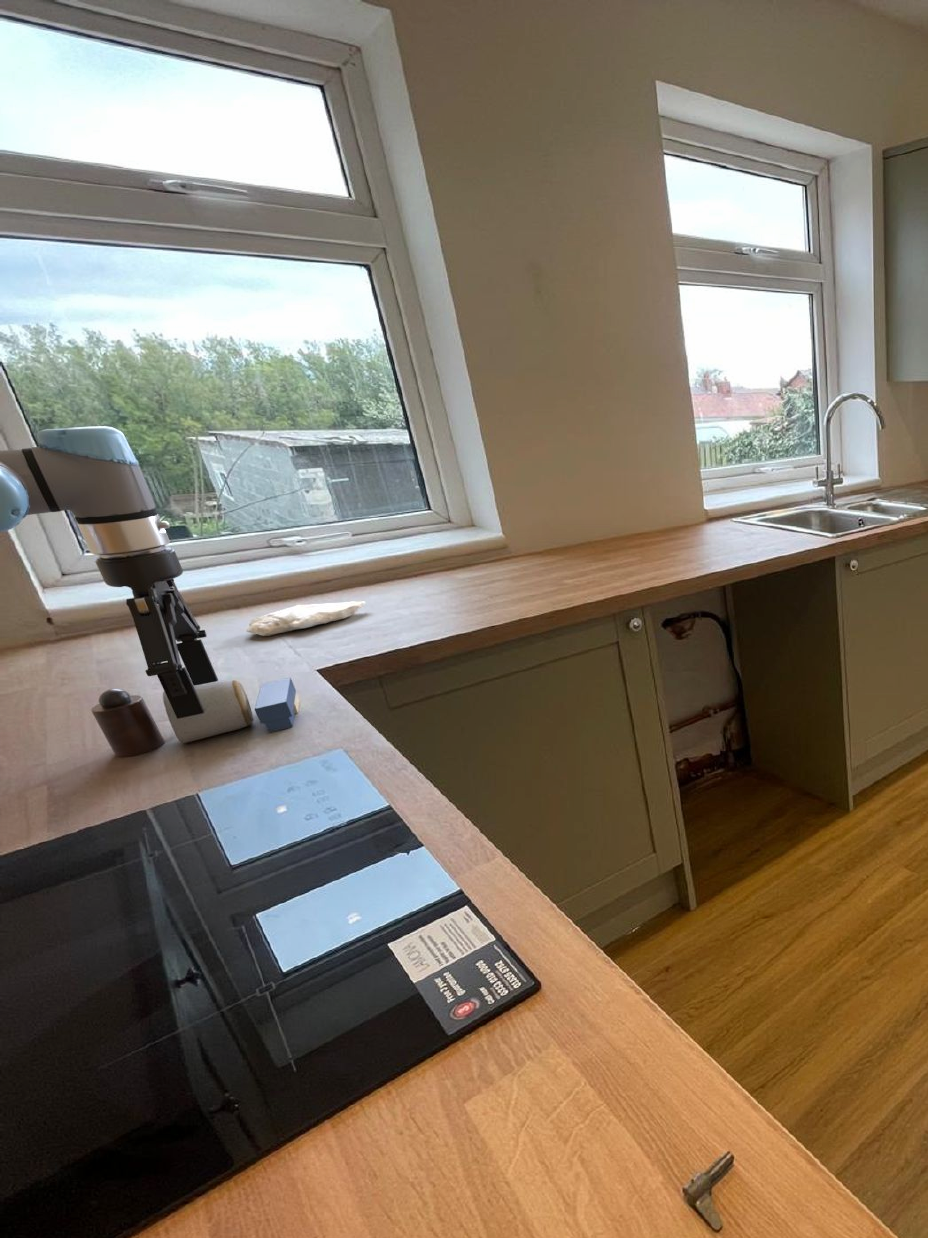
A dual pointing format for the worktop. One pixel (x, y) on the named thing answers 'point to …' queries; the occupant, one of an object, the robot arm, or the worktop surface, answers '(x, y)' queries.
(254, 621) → the rock
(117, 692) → the pepper mill
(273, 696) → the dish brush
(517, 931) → the worktop surface
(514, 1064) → the worktop surface
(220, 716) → the white canister
